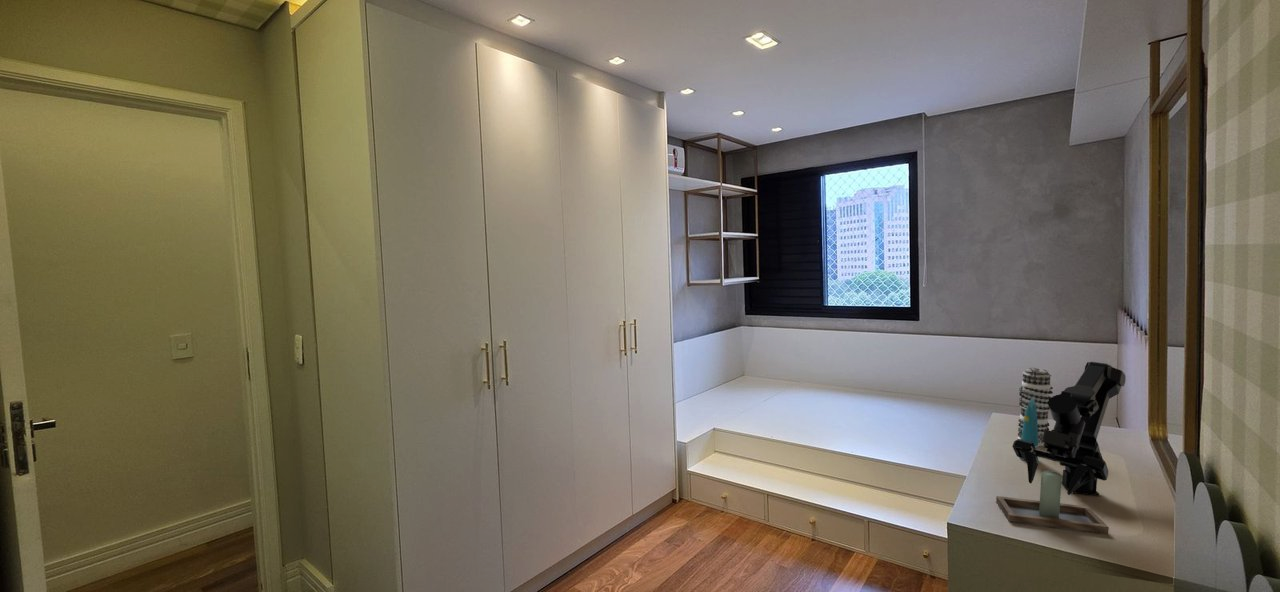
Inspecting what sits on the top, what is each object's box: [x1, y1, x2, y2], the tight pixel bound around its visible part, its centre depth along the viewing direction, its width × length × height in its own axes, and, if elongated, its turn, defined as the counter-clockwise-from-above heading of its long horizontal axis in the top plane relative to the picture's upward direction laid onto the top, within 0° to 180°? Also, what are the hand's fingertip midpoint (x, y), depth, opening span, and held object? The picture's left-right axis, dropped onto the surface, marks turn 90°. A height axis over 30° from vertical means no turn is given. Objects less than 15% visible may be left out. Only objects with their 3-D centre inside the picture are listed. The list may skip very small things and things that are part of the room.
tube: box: [1019, 397, 1039, 462], centre depth 169 cm, size 7×5×19 cm, turn 140°
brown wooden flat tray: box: [995, 495, 1110, 535], centre depth 135 cm, size 20×10×2 cm, turn 72°
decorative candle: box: [1017, 367, 1054, 447], centre depth 184 cm, size 9×9×25 cm
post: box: [1039, 469, 1063, 519], centre depth 135 cm, size 4×4×11 cm
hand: (1048, 488), depth 133 cm, fingers open, 8 cm apart
